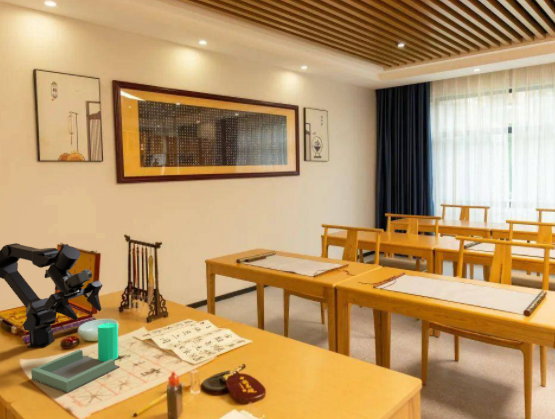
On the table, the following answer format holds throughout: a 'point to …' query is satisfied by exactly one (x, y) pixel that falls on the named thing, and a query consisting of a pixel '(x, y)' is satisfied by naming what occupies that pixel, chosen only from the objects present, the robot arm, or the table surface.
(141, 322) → the table surface
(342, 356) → the table surface
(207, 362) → the table surface
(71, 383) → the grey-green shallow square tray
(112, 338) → the candle
